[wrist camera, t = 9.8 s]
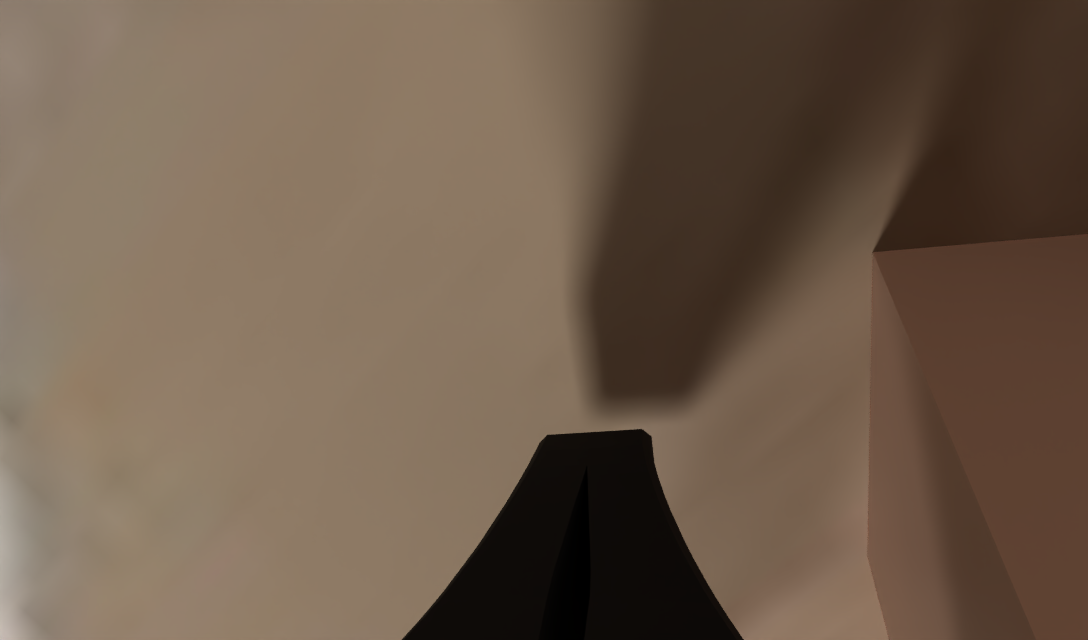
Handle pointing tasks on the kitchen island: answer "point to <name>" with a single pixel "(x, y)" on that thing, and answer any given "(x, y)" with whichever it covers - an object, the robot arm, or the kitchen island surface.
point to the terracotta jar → (980, 440)
